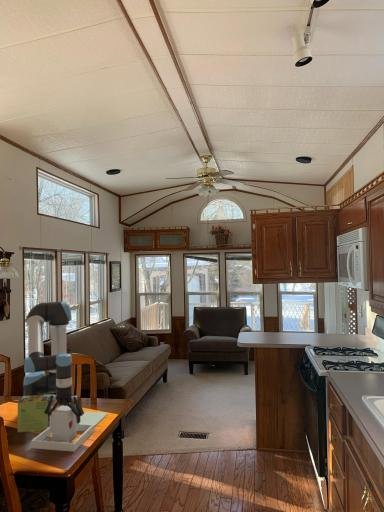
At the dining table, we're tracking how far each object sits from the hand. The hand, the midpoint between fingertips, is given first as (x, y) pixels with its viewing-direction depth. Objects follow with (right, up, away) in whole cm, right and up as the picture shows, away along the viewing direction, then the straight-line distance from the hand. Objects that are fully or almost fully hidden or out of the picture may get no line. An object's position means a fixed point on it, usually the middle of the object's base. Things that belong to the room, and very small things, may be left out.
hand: (64, 428), depth 192 cm
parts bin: (0, -5, 0) cm, 5 cm away
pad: (+4, -6, +23) cm, 25 cm away
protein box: (-21, -6, +15) cm, 26 cm away
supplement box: (0, -6, 0) cm, 6 cm away
